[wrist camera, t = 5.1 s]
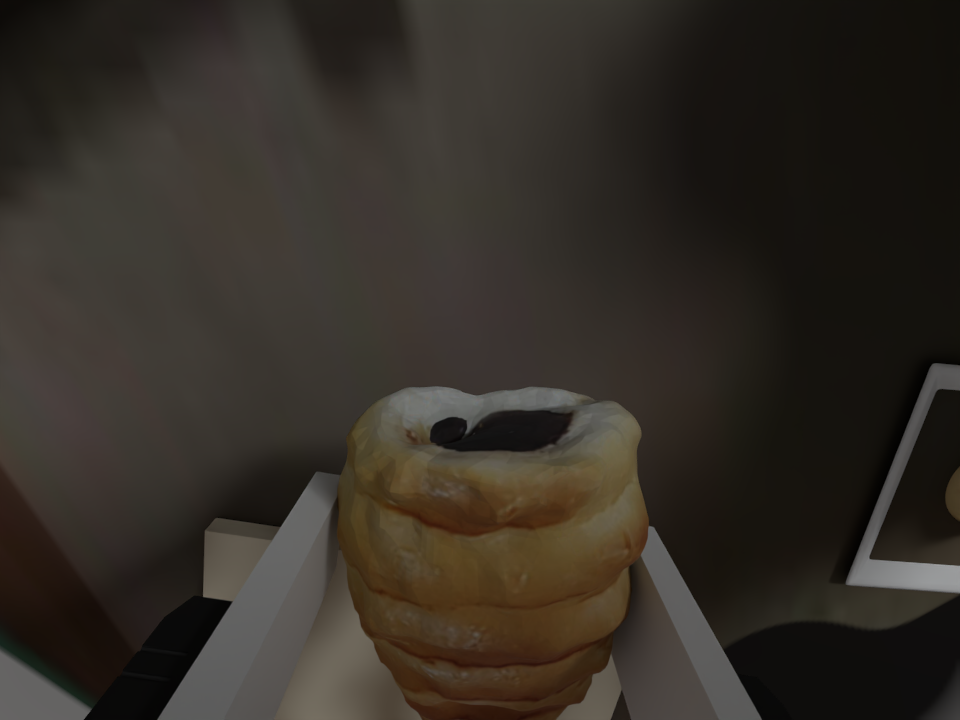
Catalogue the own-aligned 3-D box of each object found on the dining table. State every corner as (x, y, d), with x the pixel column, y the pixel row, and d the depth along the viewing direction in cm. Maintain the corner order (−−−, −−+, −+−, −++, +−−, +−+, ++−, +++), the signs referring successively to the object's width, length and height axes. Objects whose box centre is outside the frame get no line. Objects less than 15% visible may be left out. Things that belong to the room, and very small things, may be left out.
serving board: (648, 581, 24) (655, 596, 23) (581, 769, 28) (585, 788, 27) (216, 517, 23) (204, 530, 22) (209, 725, 27) (199, 744, 26)
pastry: (602, 674, 14) (645, 840, 10) (374, 675, 14) (334, 839, 10) (628, 372, 11) (700, 450, 7) (342, 375, 11) (271, 453, 7)
